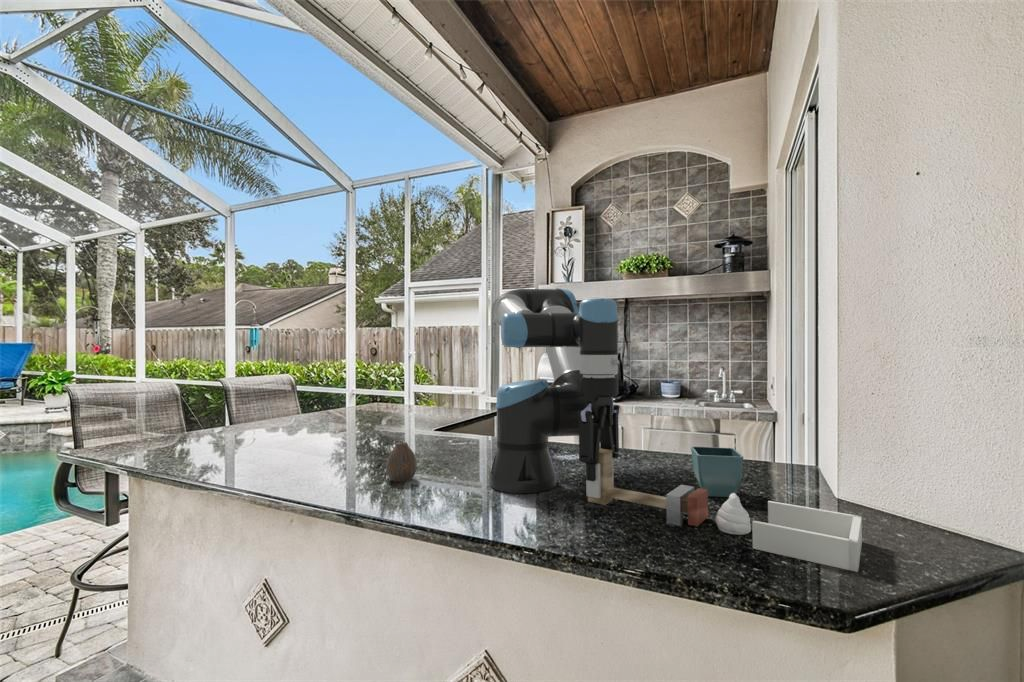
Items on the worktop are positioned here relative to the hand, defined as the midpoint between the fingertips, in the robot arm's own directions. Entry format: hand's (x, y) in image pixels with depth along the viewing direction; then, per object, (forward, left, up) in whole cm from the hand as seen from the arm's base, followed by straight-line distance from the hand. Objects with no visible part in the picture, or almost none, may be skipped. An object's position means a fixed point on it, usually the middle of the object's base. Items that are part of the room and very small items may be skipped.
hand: (600, 493), depth 96 cm
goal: (+35, 0, -2) cm, 36 cm away
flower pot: (+17, +19, -2) cm, 26 cm away
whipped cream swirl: (+25, 0, -2) cm, 25 cm away
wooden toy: (+9, 0, -2) cm, 9 cm away
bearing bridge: (+16, 0, -2) cm, 16 cm away
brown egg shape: (-45, -13, -2) cm, 47 cm away
